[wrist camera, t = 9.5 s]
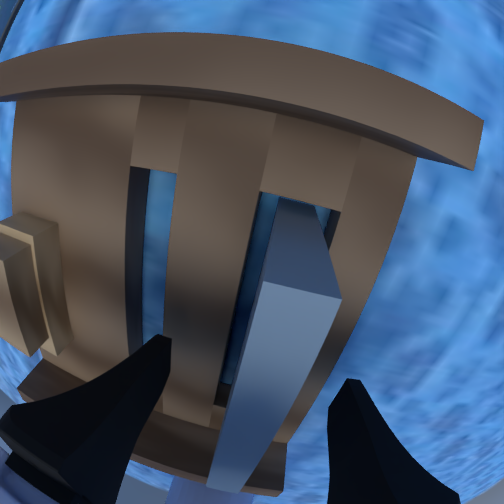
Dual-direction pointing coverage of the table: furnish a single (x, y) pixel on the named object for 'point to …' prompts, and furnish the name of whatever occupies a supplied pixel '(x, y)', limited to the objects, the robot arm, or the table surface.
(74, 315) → the rack
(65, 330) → the block
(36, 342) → the offcut top
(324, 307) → the sheet
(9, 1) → the tablet
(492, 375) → the table surface
